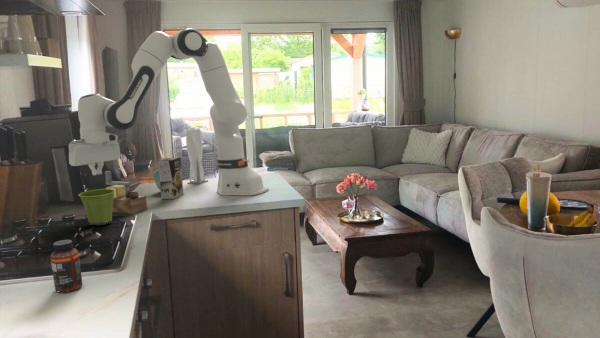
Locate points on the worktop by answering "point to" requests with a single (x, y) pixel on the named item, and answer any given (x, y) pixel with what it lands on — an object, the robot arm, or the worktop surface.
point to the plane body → (129, 203)
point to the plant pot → (98, 204)
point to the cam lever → (117, 183)
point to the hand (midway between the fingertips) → (97, 174)
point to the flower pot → (157, 179)
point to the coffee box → (170, 178)
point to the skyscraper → (195, 155)
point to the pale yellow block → (118, 190)
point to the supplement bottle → (66, 266)
